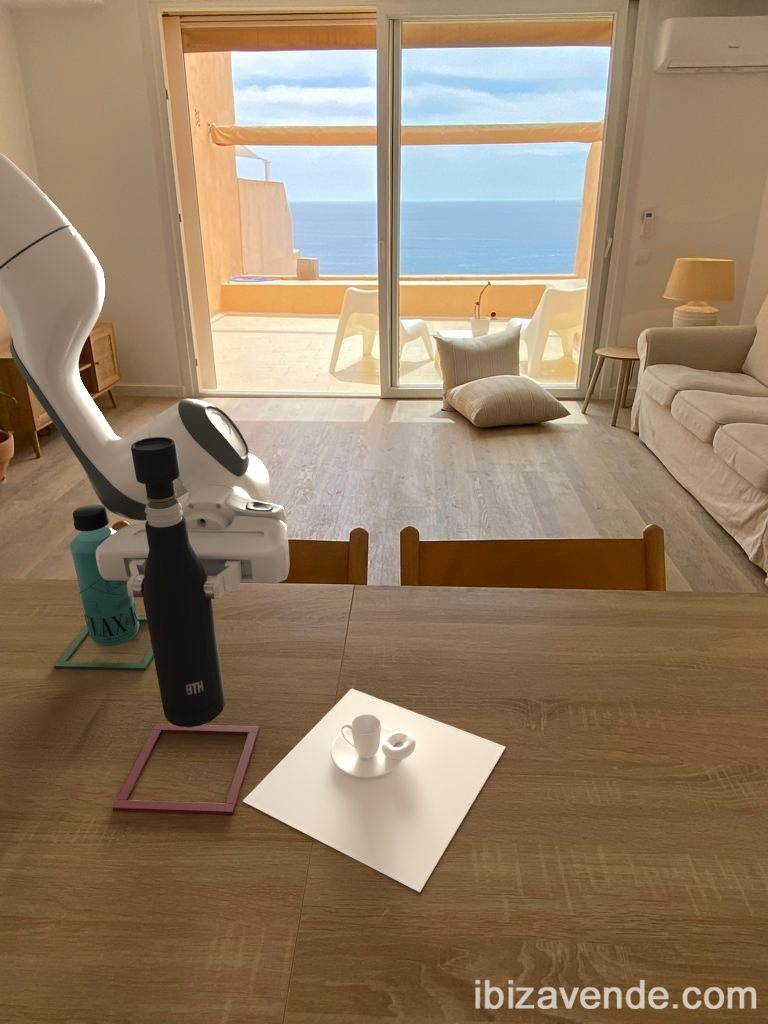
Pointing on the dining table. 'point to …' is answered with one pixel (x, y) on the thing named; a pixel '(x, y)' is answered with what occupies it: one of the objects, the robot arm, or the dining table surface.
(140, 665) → the green square
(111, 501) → the robot arm
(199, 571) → the insulated water bottle
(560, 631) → the dining table surface
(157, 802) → the red square
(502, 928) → the dining table surface
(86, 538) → the beverage bottle
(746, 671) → the dining table surface
